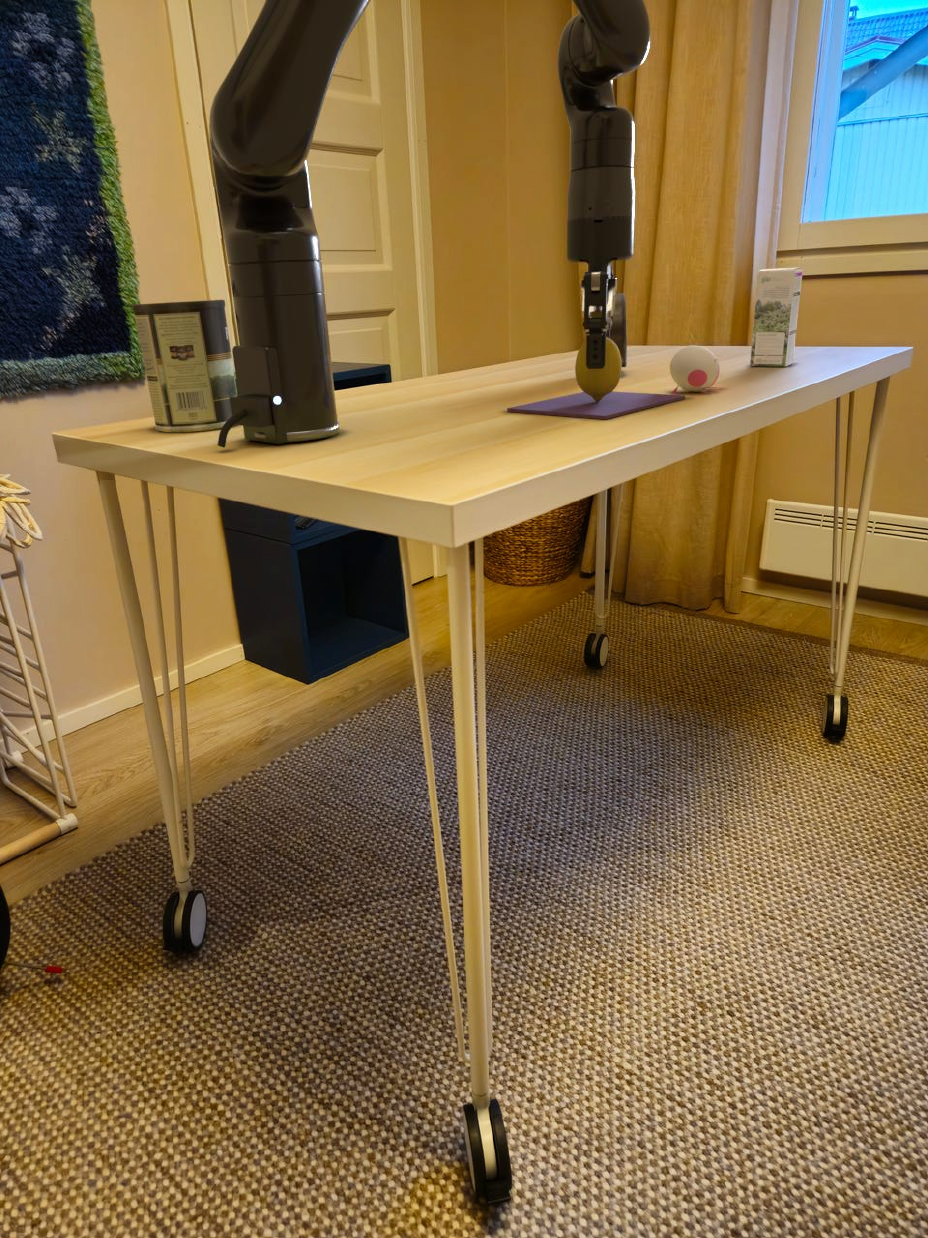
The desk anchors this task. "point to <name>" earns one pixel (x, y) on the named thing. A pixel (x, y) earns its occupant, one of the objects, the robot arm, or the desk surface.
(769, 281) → the syrup box
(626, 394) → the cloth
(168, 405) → the coffee can
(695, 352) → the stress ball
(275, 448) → the desk surface
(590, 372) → the lemon
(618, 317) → the alarm clock
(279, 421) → the robot arm
